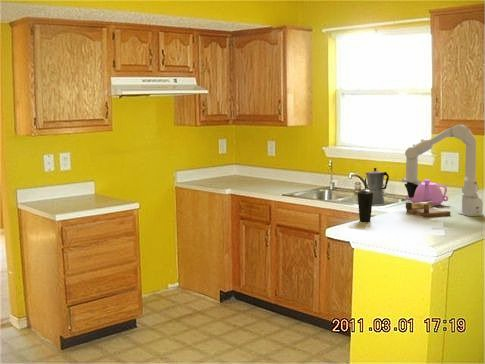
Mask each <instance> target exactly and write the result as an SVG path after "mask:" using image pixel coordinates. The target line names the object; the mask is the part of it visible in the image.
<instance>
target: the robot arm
mask: <svg viewBox="0 0 485 364" xmlns="http://www.w3.org/2000/svg"><path fill="white" fill-rule="evenodd" d="M453 137H454V138H455V139H458V140H460V141H462V143H464V144H465V160H464V161H465V167H464V168H465V171H464V173H465V175H464V176H465V177H464V181H463V186H462V188H461V192H462V195H461V211H458V212H457V214H459V215H462V216H463V215H464V216H468V217H476V216H477V217H478V216H484V213H483V205H484V204H483V201H482V199H481V198H480V197H479V194H477V193H478V191H479V185H478V182H477V174H476V173H477V139H476V137H475V135H474V134H473V133H472V131H471V129H470V128H469V127H468V126H466V125H465V124H457V125H454V126H453V127H452V126H451V127H449V128H447V129H444V130H443V131H442V132H439V133H438V134H437V135H435V136H433V137H431V138H429V139H427V138H425V139H424V138H422V139H420V141H418V143H416V144H412V145H411V146H412V147H408V148H407V149H406V150H405V152H404V155H405V157H406V159H405V177H402V178H401V183H404V187H405V188H406V192H407V195H408V197H407V198H413V197H414V194H415V191H416V189H417V187H418V185H421V183H422V180H420V179H418V175H419V174H418V171H419V163H418V161H419V160H418V157H419V156H420V155H423V154H425V153H426V152H429V151H430V150H432V149H433V146H434V145H436V144H437V143H439V142H441V141H443V140H445V139H446V138H453Z"/></svg>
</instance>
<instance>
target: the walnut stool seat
mask: <svg viewBox="0 0 485 364" xmlns="http://www.w3.org/2000/svg"><path fill="white" fill-rule="evenodd" d="M406 213H407V214H412V215H414V216H419V217H421V216H422V218H438V217H451V211H450V210H446V209H442V208H438V207H435V206H433V207H429V204H424V208H415V209H406Z"/></svg>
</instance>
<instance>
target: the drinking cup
mask: <svg viewBox="0 0 485 364" xmlns="http://www.w3.org/2000/svg"><path fill="white" fill-rule="evenodd" d="M373 193H374V192H372V191H371V190H369V188H368V189H367V177H365V178H364V189H360V190H358V191H357V192H356V194H357V201H358V202H357V203H358V216H359V217H358V219H359V222H361V223H369V222H371V219H372V209H373V208H372V207H373V205H372V200H373Z"/></svg>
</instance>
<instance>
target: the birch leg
mask: <svg viewBox="0 0 485 364" xmlns="http://www.w3.org/2000/svg"><path fill="white" fill-rule="evenodd" d="M424 204H429V207H434V206H433V201H427V202H421V203H412V202H405V209H406V210H407V209H415V208H424Z"/></svg>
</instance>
